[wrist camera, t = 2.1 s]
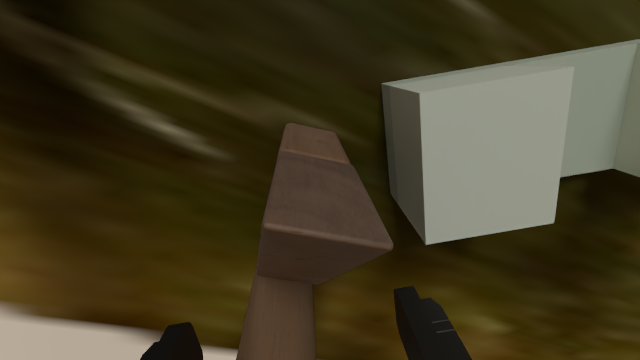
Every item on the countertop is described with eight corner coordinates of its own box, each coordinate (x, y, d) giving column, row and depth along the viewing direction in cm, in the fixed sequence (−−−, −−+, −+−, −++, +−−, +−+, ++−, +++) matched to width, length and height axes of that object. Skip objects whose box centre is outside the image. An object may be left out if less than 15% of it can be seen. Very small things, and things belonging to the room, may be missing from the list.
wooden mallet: (337, 132, 21) (475, 388, 5) (305, 261, 25) (315, 672, 8) (285, 120, 21) (220, 359, 4) (259, 253, 24) (169, 675, 8)
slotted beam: (381, 83, 20) (419, 93, 14) (711, 26, 20) (907, 9, 14) (390, 193, 23) (425, 244, 17) (680, 144, 23) (829, 175, 17)
